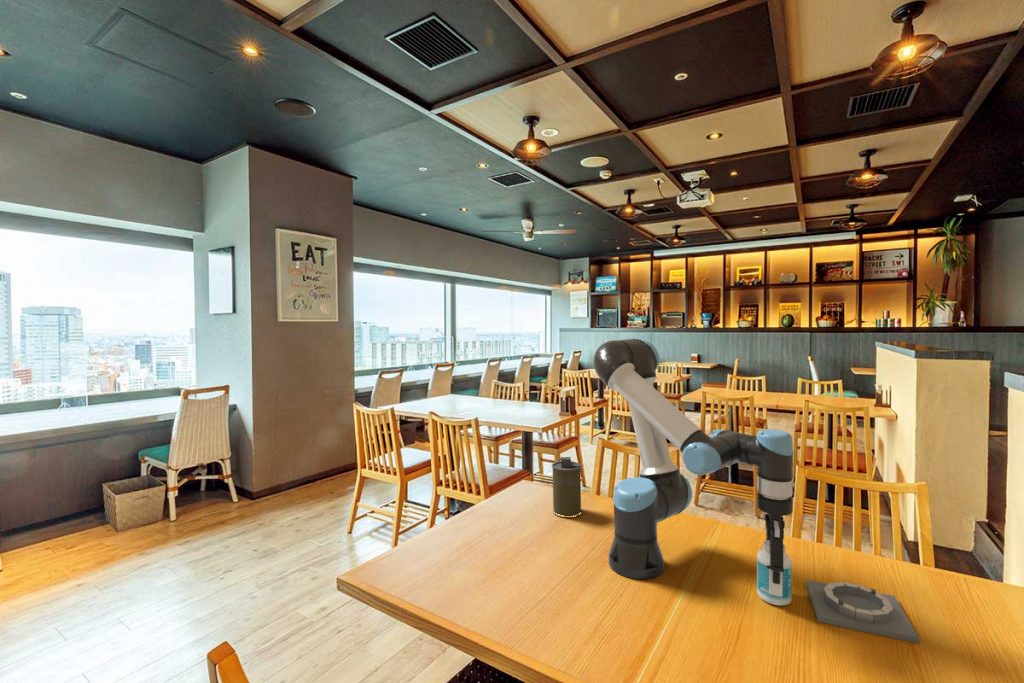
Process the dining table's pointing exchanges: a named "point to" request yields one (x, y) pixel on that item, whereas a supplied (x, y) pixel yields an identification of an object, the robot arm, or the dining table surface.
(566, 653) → the dining table surface
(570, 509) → the canister
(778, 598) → the pill bottle
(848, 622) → the board
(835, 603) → the collar
